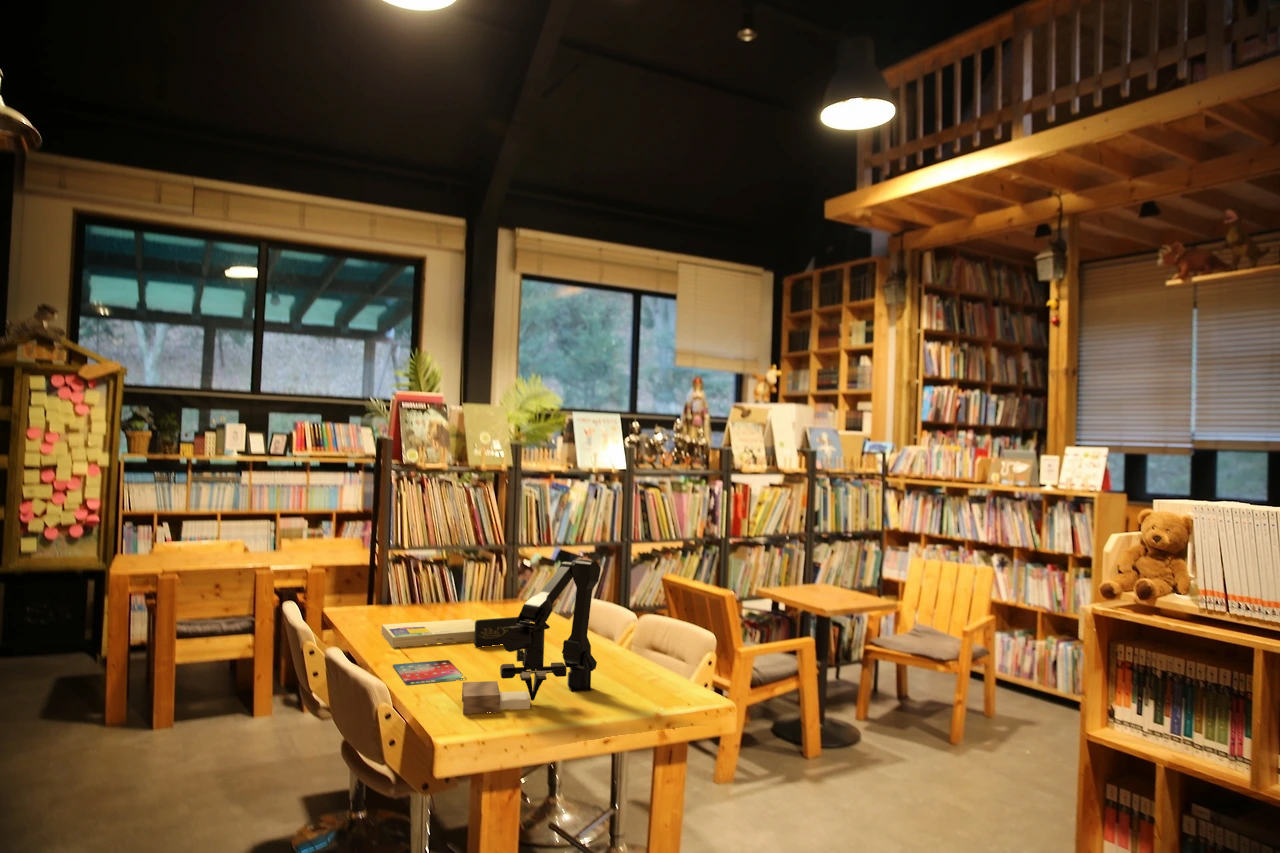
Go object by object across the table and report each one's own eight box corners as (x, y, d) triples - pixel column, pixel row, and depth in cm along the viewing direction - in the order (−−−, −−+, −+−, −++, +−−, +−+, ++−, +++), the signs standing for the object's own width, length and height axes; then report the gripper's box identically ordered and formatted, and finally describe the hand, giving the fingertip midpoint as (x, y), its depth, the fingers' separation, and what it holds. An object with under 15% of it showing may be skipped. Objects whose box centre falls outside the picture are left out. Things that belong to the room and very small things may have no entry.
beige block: (526, 701, 242) (527, 691, 242) (529, 710, 234) (530, 699, 234) (492, 702, 240) (492, 692, 240) (494, 711, 232) (494, 700, 232)
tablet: (406, 687, 253) (406, 684, 253) (391, 666, 276) (392, 664, 276) (467, 681, 262) (467, 678, 262) (449, 662, 284) (449, 659, 284)
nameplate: (527, 642, 316) (528, 616, 316) (528, 643, 314) (529, 617, 314) (474, 647, 305) (475, 620, 306) (475, 648, 304) (476, 621, 304)
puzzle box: (487, 642, 316) (471, 629, 337) (488, 630, 316) (471, 618, 337) (391, 650, 299) (380, 635, 321) (391, 637, 300) (380, 623, 321)
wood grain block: (496, 698, 243) (497, 681, 243) (499, 713, 229) (500, 694, 230) (462, 699, 241) (462, 682, 241) (463, 714, 227) (463, 696, 227)
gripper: (562, 639, 249) (560, 691, 248) (499, 640, 245) (497, 693, 244) (567, 647, 238) (565, 702, 238) (502, 649, 234) (500, 704, 233)
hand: (532, 700), depth 238 cm, fingers closed
